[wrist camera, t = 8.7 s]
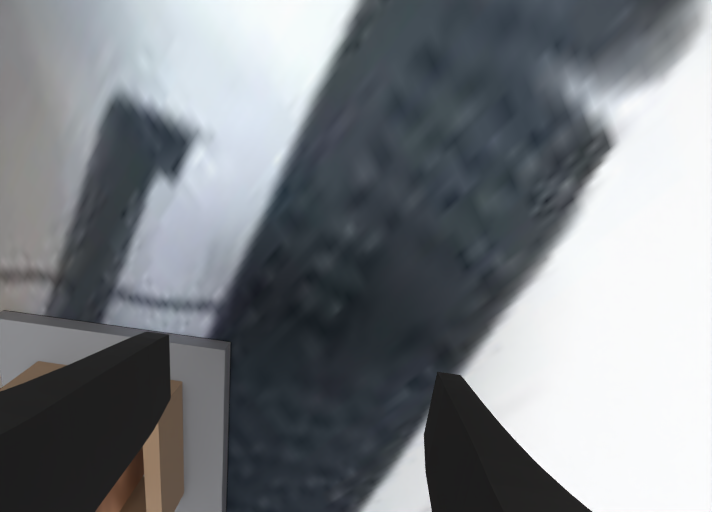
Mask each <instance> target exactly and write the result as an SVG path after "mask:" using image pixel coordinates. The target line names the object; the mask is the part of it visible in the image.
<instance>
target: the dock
mask: <svg viewBox="0 0 712 512" xmlns="http://www.w3.org/2000/svg"><path fill="white" fill-rule="evenodd" d="M144 332H147V330H140V329H133V328H126V327H119V326H111V325H104V324H97V323H90V322H83V321H75V320H68V319H61V318H54V317H47V316H40V315H32V314H25V313H18V312H11V311H4V310H3V311H2V312H0V375H1V380H2V386H3V387H2V388H0V391H3V390H6V389H8V388H11V387H14V386H17V385H19V384H22V383H25V382H27V381H30V380H32V379H35V378H37V377H40V376H42V375H44V374H47V373H49V372H52V371H54V370H57V369H59V368H62V367H64V366H67V365H69V364H71V363H74V362H76V361H78V360H81V359H83V358H85V357H87V356H90V355H92V354H94V353H96V352H99V351H101V350H103V349H105V348H108V347H110V346H112V345H114V344H117V343H119V342H121V341H124V340H126V339H128V338H131V337H133V336H136V335H138V334H141V333H144ZM148 332H154V331H148ZM155 333H162V332H155ZM162 334H169V333H162ZM230 346H231V342H226V341H219V340H212V339H205V338H197V337H190V336H183V335H176V334H169V347H170V383H171V399H170V401H169V403H168V405H167V407H166V409H165V411H164V413H163V414H162V416H161V418H160V420H159V422H158V423H157V425H156V427H155V429H154V431H153V432H152V434H151V435H150V437H149V438H148V439H147V441H146V442H145V444H144V445H143V459H144V475H143V477H142V478H141V480H140V481H139V483H138V484H137V486H136V487H135V489H134V490H133V492H132V494H131V495H130V497H129V498H128V500H127V501H126V503H125V504H124V506H123V507H122V509H121V510H120V512H226V498H227V460H228V422H229V384H230Z"/></svg>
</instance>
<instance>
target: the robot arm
mask: <svg viewBox="0 0 712 512" xmlns="http://www.w3.org/2000/svg"><path fill="white" fill-rule="evenodd" d="M170 399H171V383H170V347H169V334H162V333H155V332H148V331H147V332H144V333H141V334H138V335H136V336H133V337H131V338H128V339H126V340H124V341H121V342H119V343H117V344H114V345H112V346H110V347H108V348H105V349H103V350H101V351H99V352H96V353H94V354H92V355H90V356H87V357H85V358H83V359H81V360H78V361H76V362H74V363H71V364H69V365H67V366H64V367H62V368H59V369H57V370H54V371H52V372H49V373H47V374H44V375H42V376H40V377H37V378H35V379H32V380H30V381H27V382H25V383H22V384H19V385H17V386H14V387H11V388H8V389H6V390H3V391H0V512H95V511H96V510H97V508H98V507H99V506H100V504H101V503H102V501H103V500H104V499H105V497H106V496H107V495H108V493H109V492H110V491H111V489H112V488H113V486H114V485H115V484H116V482H117V481H118V480H119V478H120V477H121V475H122V474H123V473H124V471H125V470H126V469H127V467H128V466H129V465H130V463H131V462H132V460H133V459H134V458H135V456H136V455H137V453H138V452H139V451H140V449H141V448H142V446H143V445H144V444H145V442H146V441H147V439H148V438H149V437H150V435H151V434H152V432H153V431H154V429H155V427H156V425H157V423H158V422H159V420H160V418H161V416H162V414H163V413H164V411H165V409H166V407H167V405H168V403H169V401H170ZM424 447H425V468H426V477H427V484H428V490H429V496H430V502H431V508H432V512H592V511H591V510H589V509H588V508H587V507H586V506H584V505H583V504H582V503H581V502H580V501H578V500H577V499H576V498H575V497H574V496H572V495H571V494H570V493H569V492H568V491H567V490H566V489H564V488H563V487H562V486H561V485H560V484H559V483H558V482H557V481H556V480H555V479H553V478H552V477H551V476H550V475H549V474H548V473H547V472H546V471H545V470H544V469H543V468H542V467H540V466H539V465H538V464H537V463H536V462H535V461H534V460H533V459H532V458H531V457H530V456H529V454H528V453H527V452H526V451H525V450H524V449H523V448H522V447H521V446H520V445H519V444H518V443H517V442H516V441H515V440H514V439H513V438H512V436H511V435H510V434H509V433H508V432H507V431H506V430H505V429H504V428H503V426H502V425H501V424H500V423H499V422H498V421H497V419H496V418H495V417H494V416H493V415H492V413H491V412H490V411H489V410H488V409H487V407H486V406H485V405H484V404H483V402H482V401H481V400H480V399H479V398H478V396H477V395H476V394H475V392H474V391H473V390H472V389H471V387H470V386H469V385H468V384H467V382H466V381H465V380H464V379H463V378H462V376H461V375H456V374H449V373H441V372H437V376H436V381H435V386H434V390H433V395H432V400H431V404H430V409H429V414H428V418H427V423H426V428H425V432H424Z"/></svg>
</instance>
